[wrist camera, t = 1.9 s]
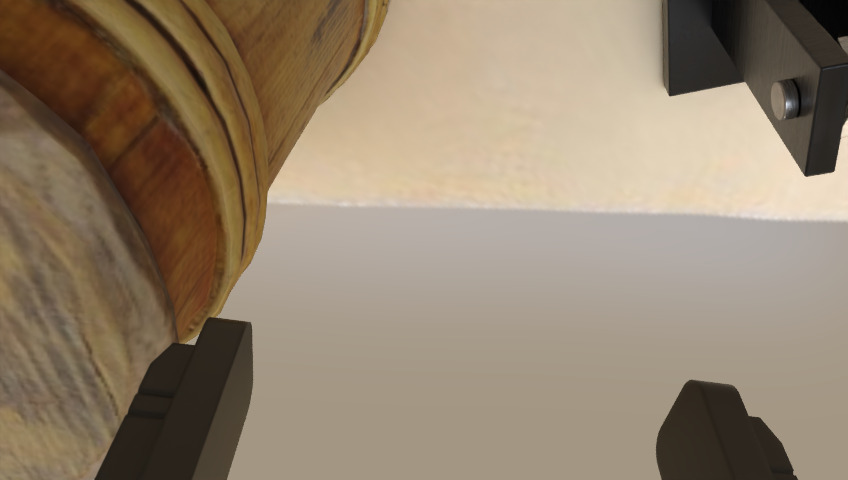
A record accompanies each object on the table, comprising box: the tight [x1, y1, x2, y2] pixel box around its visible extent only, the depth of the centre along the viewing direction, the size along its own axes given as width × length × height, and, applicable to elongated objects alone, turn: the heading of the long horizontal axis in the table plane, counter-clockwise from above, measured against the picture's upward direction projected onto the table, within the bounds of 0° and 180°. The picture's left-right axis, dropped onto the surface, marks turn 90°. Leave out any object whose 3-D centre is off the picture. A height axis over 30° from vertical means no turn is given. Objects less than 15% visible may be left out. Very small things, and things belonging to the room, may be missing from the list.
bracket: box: [662, 0, 848, 177], centre depth 27 cm, size 11×9×13 cm
